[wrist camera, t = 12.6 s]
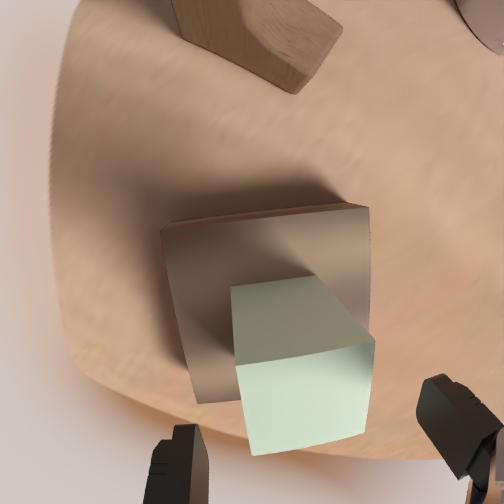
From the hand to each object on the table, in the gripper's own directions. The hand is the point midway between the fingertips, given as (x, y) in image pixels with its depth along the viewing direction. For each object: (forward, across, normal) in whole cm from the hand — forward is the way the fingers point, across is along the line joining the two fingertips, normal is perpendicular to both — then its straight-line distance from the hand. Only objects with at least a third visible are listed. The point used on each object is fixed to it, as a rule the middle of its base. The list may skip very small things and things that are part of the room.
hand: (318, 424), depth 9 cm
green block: (+10, 0, +1) cm, 10 cm away
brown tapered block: (+14, 0, 0) cm, 14 cm away
